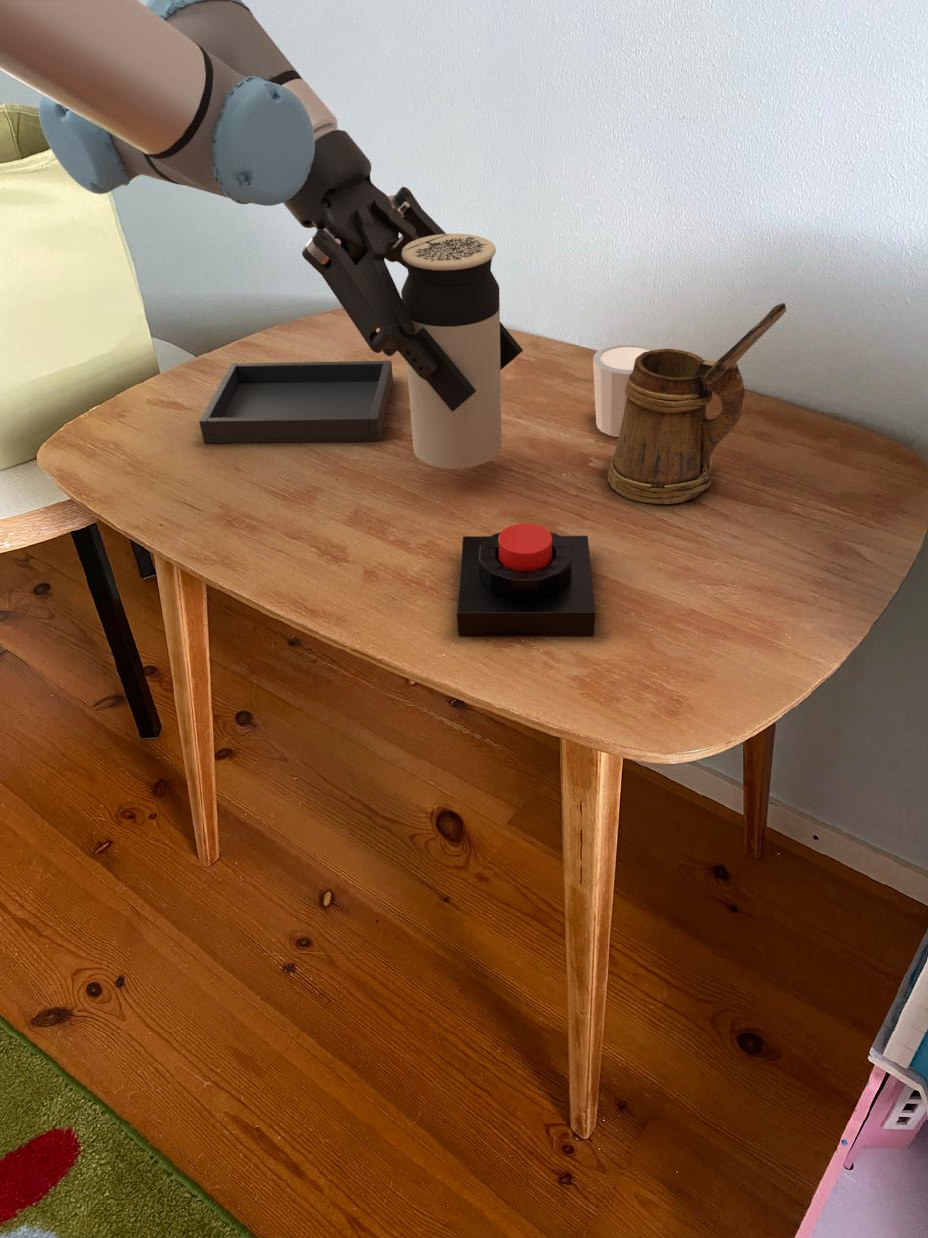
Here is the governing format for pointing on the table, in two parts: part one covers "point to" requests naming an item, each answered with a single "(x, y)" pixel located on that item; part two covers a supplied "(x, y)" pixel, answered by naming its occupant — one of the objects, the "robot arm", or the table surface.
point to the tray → (299, 402)
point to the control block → (525, 591)
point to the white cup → (613, 384)
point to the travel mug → (455, 347)
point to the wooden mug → (677, 420)
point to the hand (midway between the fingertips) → (488, 380)
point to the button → (525, 547)
